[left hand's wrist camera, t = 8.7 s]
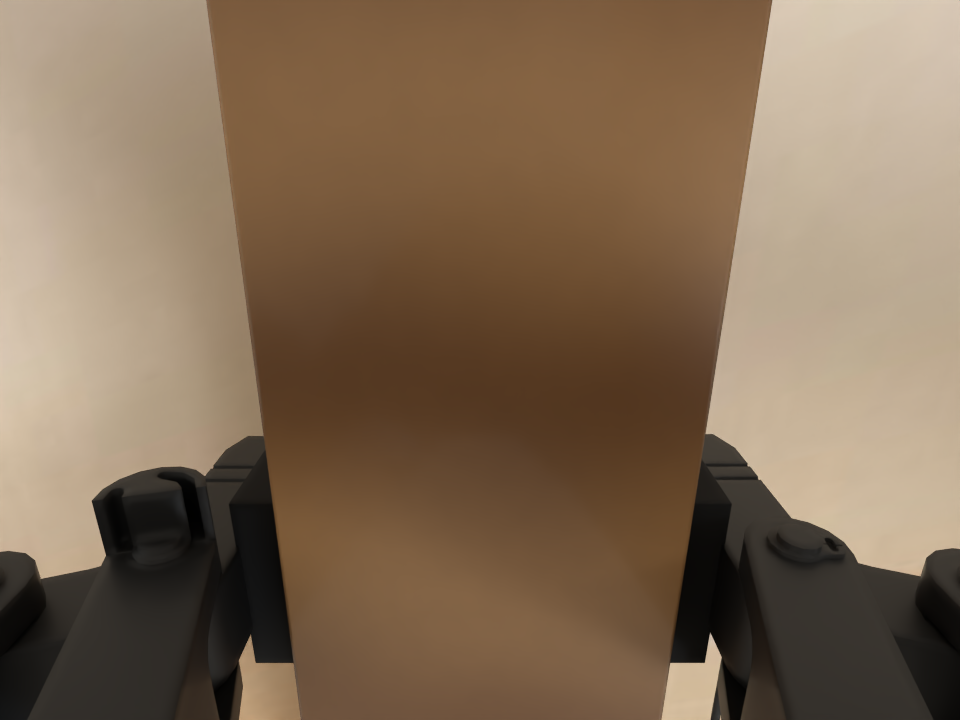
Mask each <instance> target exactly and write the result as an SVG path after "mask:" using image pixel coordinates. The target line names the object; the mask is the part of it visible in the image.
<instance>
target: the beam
mask: <svg viewBox="0 0 960 720" xmlns="http://www.w3.org/2000/svg"><path fill="white" fill-rule="evenodd" d="M206 1H207V8H208V16H209V24H210V31H211V39H212V46H213V54H214V62H215V69H216V77H217V84H218V92H219V100H220V107H221V115H222V122H223V130H224V138H225V145H226V153H227V160H228V168H229V176H230V183H231V191H232V198H233V206H234V214H235V221H236V229H237V236H238V244H239V251H240V259H241V267H242V274H243V282H244V289H245V297H246V305H247V312H248V320H249V327H250V335H251V343H252V350H253V358H254V365H255V373H256V381H257V388H258V396H259V403H260V411H261V419H262V426H263V434H264V441H265V449H266V457H267V464H268V472H269V479H270V487H271V495H272V502H273V510H274V517H275V525H276V533H277V540H278V548H279V555H280V563H281V571H282V578H283V586H284V593H285V601H286V609H287V616H288V624H289V631H290V639H291V646H292V654H293V662H294V669H295V677H296V684H297V692H298V700H299V707H300V715H301V720H661V718H662V712H663V705H664V699H665V692H666V686H667V679H668V673H669V666H670V660H671V653H672V647H673V640H674V634H675V627H676V621H677V615H678V608H679V602H680V595H681V589H682V582H683V576H684V569H685V563H686V556H687V550H688V543H689V537H690V530H691V524H692V517H693V511H694V504H695V498H696V491H697V485H698V478H699V472H700V465H701V459H702V452H703V446H704V439H705V433H706V426H707V420H708V413H709V407H710V400H711V394H712V388H713V381H714V375H715V368H716V362H717V355H718V349H719V342H720V336H721V329H722V323H723V316H724V310H725V303H726V297H727V290H728V284H729V277H730V271H731V264H732V258H733V251H734V245H735V238H736V232H737V225H738V219H739V212H740V206H741V199H742V193H743V186H744V180H745V173H746V167H747V161H748V154H749V148H750V141H751V135H752V128H753V122H754V115H755V109H756V102H757V96H758V89H759V83H760V76H761V70H762V63H763V57H764V50H765V44H766V37H767V31H768V24H769V18H770V11H771V5H772V0H206Z"/></svg>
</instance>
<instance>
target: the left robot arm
mask: <svg viewBox="0 0 960 720" xmlns="http://www.w3.org/2000/svg"><path fill="white" fill-rule="evenodd" d="M92 504H93V507H94V511H95V515H96V519H97V523H98V526H99V530H100V534H101V538H102V541H103V545H104V549H105V553H106V557H105V559H104V561H103V563H102V565H101V566H100V567H96V568H93V569H89V570H84V571H79V572H74V573H69V574H64V575H59V576H54V577H49V578H44V579H41V578H40V575H39V572H38V569H37V565H36V562H35V560H34V559H32V558H31V557H30V556H28V555H27V554H26V553H19V552H12V551H5V552H0V720H239V714H240V706H241V698H242V689H243V683H242V676H241V670H240V665H239V659H240V656H241V654H242V652H243V650H244V648H245V645H246V643H247V641H248V639H249V637H250V634H251V638H252V643H253V649H254V655H255V661H256V663H294V662H293V654H292V646H291V639H290V631H289V624H288V616H287V609H286V601H285V593H284V586H283V578H282V571H281V563H280V555H279V548H278V540H277V533H276V525H275V517H274V510H273V502H272V495H271V487H270V479H269V472H268V464H267V457H266V449H265V441H264V436H248V437H246V438H244V439H243V440H241V441H240V442H238V443H236V444H235V445H233V446H231V447H230V448H228V449H227V450H226V451H225V452H224V453H223V454H222V456H221V457H220V458H219V459H218V461H217V462H216V463H215V464H214V468H213V469H210V471H209V472H208V473H207V474H206V476H203V475H202V474H201V473H199V472H198V471H197V470H194V469H189V468H185V467H161V468H156V469H151V470H146V471H141V472H138V473H135V474H133V475H130V476H127V477H125V478H122V479H119V480H118V481H116V482H114V483H113V484H111V485H109V486H108V487H106V488H104V489H103V490H102V491H101V492H100V493H99V494H98V495H97V496H96V497H95V498H94V499H93V500H92ZM710 632H711V635H712V637H713V639H714V641H715V643H716V645H717V648H718V650H719V652H720V654H721V656H722V659H721V665H720V670H719V676H718V681H717V687H716V692H715V697H714V703H713V708H712V714H711V720H720V715H721V720H960V549H954V548H952V549H944V550H937V551H935V552H933V553H932V554H931V555H929V556H928V557H927V558H926V561H925V564H924V567H923V571H922V574H921V577H920V576H915V575H910V574H905V573H900V572H895V571H890V570H885V569H880V568H875V567H871V566H867V565H863V564H859V563H858V562H857V560H856V558H855V556H854V554H853V553H852V552H851V550H850V549H849V548H848V547H847V545H846V544H845V543H844V542H843V541H842V540H840V539H839V538H837V537H836V536H834V535H833V534H832V533H830V532H829V531H827V530H825V529H822V528H820V527H818V526H815V525H813V524H811V523H808V522H804V521H800V520H796V519H792V518H791V517H790V516H789V515H788V513H787V512H786V511H785V510H784V508H783V507H782V506H781V505H780V503H779V502H778V501H777V500H776V499H775V497H774V496H773V495H772V494H771V492H770V491H769V490H768V489H767V487H766V486H765V485H764V484H763V482H762V481H761V480H758V476H757V475H756V474H755V472H754V471H753V470H752V469H751V467H748V466H747V462H746V461H745V460H744V459H743V457H742V456H741V455H740V454H739V452H738V451H737V450H736V449H735V448H734V447H733V446H731V445H729V444H728V443H726V442H725V441H723V440H721V439H720V438H718V437H716V436H715V435H713V434H705V439H704V446H703V452H702V459H701V465H700V472H699V478H698V485H697V491H696V498H695V504H694V511H693V517H692V524H691V530H690V537H689V543H688V550H687V556H686V563H685V569H684V576H683V582H682V589H681V595H680V602H679V608H678V615H677V621H676V627H675V634H674V640H673V647H672V653H671V660H670V663H705V658H706V652H707V646H708V641H709V635H710Z"/></svg>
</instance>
